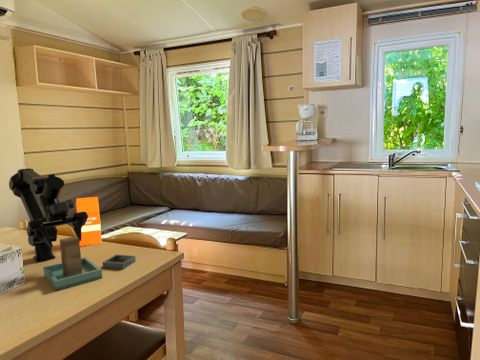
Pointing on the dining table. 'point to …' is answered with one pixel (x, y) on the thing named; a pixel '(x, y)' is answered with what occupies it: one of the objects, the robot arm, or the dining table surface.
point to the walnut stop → (70, 256)
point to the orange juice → (90, 221)
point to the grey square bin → (126, 258)
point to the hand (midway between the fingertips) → (66, 243)
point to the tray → (61, 281)
